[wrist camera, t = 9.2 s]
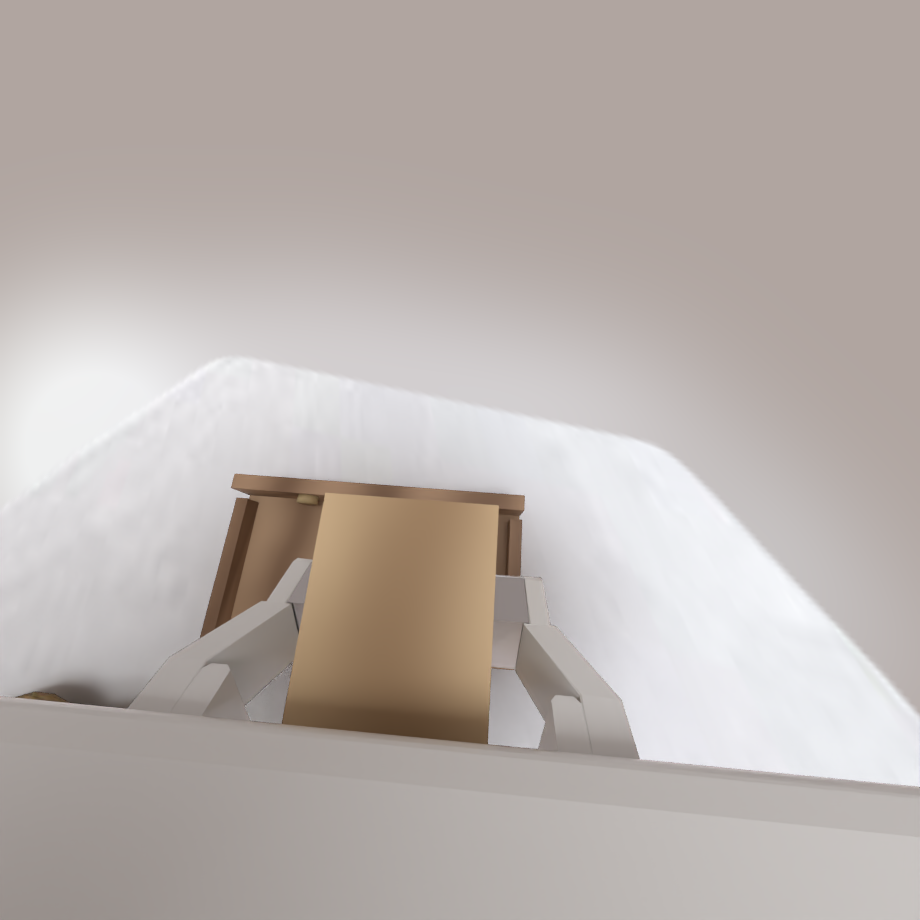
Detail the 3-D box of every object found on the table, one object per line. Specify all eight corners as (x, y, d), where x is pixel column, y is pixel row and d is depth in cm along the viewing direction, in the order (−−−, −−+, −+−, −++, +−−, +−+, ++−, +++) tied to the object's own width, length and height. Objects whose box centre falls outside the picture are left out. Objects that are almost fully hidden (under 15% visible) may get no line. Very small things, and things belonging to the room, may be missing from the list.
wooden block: (375, 660, 15) (277, 748, 7) (392, 528, 16) (326, 486, 9) (476, 669, 15) (486, 770, 7) (484, 535, 16) (499, 499, 9)
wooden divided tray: (235, 636, 27) (187, 648, 23) (269, 489, 31) (234, 473, 26) (509, 661, 27) (519, 680, 22) (515, 508, 30) (524, 495, 25)
